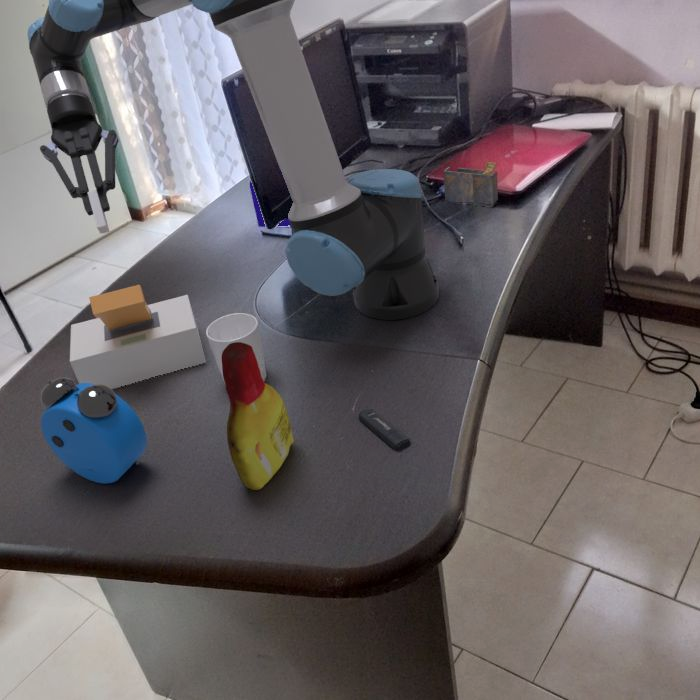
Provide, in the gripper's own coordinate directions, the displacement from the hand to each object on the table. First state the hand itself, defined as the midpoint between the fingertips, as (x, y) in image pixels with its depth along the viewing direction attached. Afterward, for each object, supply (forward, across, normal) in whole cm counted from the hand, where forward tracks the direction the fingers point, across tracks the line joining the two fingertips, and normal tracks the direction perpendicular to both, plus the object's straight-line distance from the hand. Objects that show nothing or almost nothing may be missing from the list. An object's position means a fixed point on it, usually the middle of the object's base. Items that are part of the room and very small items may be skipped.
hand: (103, 229), depth 121 cm
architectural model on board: (+2, -74, -28) cm, 79 cm away
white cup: (+32, -15, +2) cm, 35 cm away
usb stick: (+47, -31, +16) cm, 59 cm away
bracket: (-12, -39, -42) cm, 58 cm away
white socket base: (+21, 0, -8) cm, 23 cm away
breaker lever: (+16, 0, -2) cm, 16 cm away
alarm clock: (+40, +7, +10) cm, 42 cm away
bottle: (+47, -14, +17) cm, 52 cm away
